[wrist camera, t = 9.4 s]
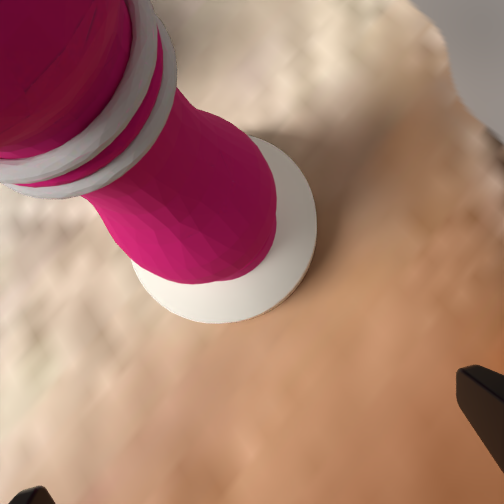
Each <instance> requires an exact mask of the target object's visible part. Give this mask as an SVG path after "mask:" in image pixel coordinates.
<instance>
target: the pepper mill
mask: <svg viewBox="0 0 504 504" xmlns="http://www.w3.org/2000/svg"><path fill="white" fill-rule="evenodd" d="M176 84H177V64H176V56H175V50H174V47H173V45H172V42H171V39H170V36H169V34H168V32H167V30H166V28H165V26H164V24H163V23H162V22H161V20H160V19H159V18H158V17H157V15H156V14H155V13H154V9H153V6H152V3H151V1H150V0H0V183H2V184H3V185H5V186H7V187H9V188H10V189H12V190H14V191H16V192H18V193H20V194H23V195H26V196H30V197H34V198H42V199H67V198H71V197H76V196H82V197H84V198H85V199H87V200H88V201H89V202H90V203H91V204H92V205H93V206H94V207H95V209H96V210H97V212H98V213H99V215H100V216H101V218H102V220H103V222H104V224H105V225H106V227H107V229H108V231H109V233H110V234H111V236H112V237H113V239H114V241H115V242H116V243H117V244H118V245H119V247H120V248H121V249H122V250H123V251H124V252H125V253H126V254H127V255H128V256H129V257H130V258H131V259H132V260H133V261H134V262H135V263H136V264H138V265H139V266H140V267H142V268H143V269H145V270H147V271H149V272H151V273H153V274H155V275H157V276H159V277H161V278H164V279H166V280H168V281H172V282H176V283H180V284H192V285H194V284H205V283H211V282H215V281H228V280H233V279H236V278H239V277H241V276H244V275H246V274H247V273H249V272H250V271H252V270H253V269H254V268H256V267H257V266H258V265H259V264H260V263H261V262H262V261H263V260H264V258H265V257H266V255H267V254H268V252H269V250H270V248H271V247H272V244H273V241H274V238H275V234H276V226H277V221H276V208H277V194H276V185H275V181H274V178H273V174H272V172H271V170H270V167H269V165H268V163H267V161H266V160H265V158H264V156H263V155H262V153H261V151H260V150H259V148H258V146H257V145H256V144H255V143H254V142H253V141H252V140H251V139H250V138H249V137H248V136H247V135H246V134H245V133H244V132H242V131H241V130H240V129H238V128H237V127H236V126H234V125H233V124H232V123H230V122H228V121H226V120H224V119H222V118H221V117H218V116H216V115H213V114H211V113H208V112H205V111H202V110H198V109H196V108H195V107H194V106H192V105H191V104H190V103H189V101H188V100H187V99H186V98H185V97H184V95H183V94H182V93H181V92H180V90H179V89H178V88H177V87H176Z"/></svg>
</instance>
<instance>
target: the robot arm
mask: <svg viewBox="0 0 504 504" xmlns="http://www.w3.org/2000/svg"><path fill="white" fill-rule="evenodd" d="M456 398H457V402H458V405H459V407H460V409H461V410H462V412H463V413H464V415H465V416H466V418H467V419H468V421H469V422H470V424H471V425H472V427H473V428H474V430H475V431H476V433H477V434H478V436H479V437H480V439H481V440H482V442H483V443H484V445H485V446H486V448H487V449H488V451H489V452H490V454H491V455H492V457H493V458H494V460H495V461H496V463H497V464H498V466H499V467H500V469H501V470H502V471H503V473H504V375H502V374H499V373H497V372H495V371H492V370H490V369H487V368H485V367H482V366H480V365H470V366H467V367H463V368H460V369H458V371H457V372H456ZM9 504H55V502H54V500H53V499H52V497H51V496H50V494H49V493H48V491H47V489H46V488H45V487H43V486H36V487H33V488H29V489H25V490H23V491H21V492H19V493H18V494H17V495H16V496H15V497H14V498H13V499H12V500H11V501H10V502H9Z"/></svg>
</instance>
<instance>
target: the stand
mask: <svg viewBox="0 0 504 504" xmlns="http://www.w3.org/2000/svg"><path fill="white" fill-rule="evenodd" d="M247 136H248V137H249V138H250V139H251V140H252V141H253V142H254V143H255V144H256V145H257V146H258V148H259V150H260V151H261V153H262V155H263V156H264V158H265V160H266V161H267V163H268V165H269V167H270V170H271V172H272V174H273V178H274V181H275V185H276V194H277V208H276V221H277V226H276V234H275V238H274V241H273V244H272V247H271V248H270V250H269V252H268V254H267V255H266V257H265V258H264V260H263V261H262V262H261V263H260V264H259V265H258V266H257V267H256V268H254V269H253V270H252V271H250V272H249V273H247V274H246V275H244V276H241V277H239V278H236V279H233V280H228V281H215V282H211V283H205V284H194V285H192V284H180V283H176V282H172V281H168V280H166V279H164V278H161V277H159V276H157V275H155V274H153V273H151V272H149V271H147V270H145V269H143V268H142V267H140V266H139V265H138V264H136V263H135V262H134V261H133V260H132V259H131V261H132V265H133V268H134V270H135V272H136V274H137V276H138V278H139V280H140V282H141V283H142V285H143V286H144V288H145V289H146V290H147V292H148V293H149V294H150V295H151V296H152V297H153V298H154V299H155V300H156V301H157V302H158V303H159V304H160V305H162V306H163V307H165V308H166V309H168V310H169V311H171V312H172V313H174V314H177V315H179V316H181V317H183V318H186V319H189V320H193V321H196V322H203V323H217V324H221V323H232V322H240V321H245V320H249V319H253V318H255V317H258V316H260V315H263V314H265V313H267V312H268V311H270V310H272V309H274V308H275V307H277V306H278V305H279V304H281V303H282V302H283V301H285V300H286V299H287V298H288V297H289V296H290V295H291V294H292V293H293V292H294V291H295V289H296V288H297V287H298V285H299V284H300V283H301V281H302V280H303V278H304V276H305V274H306V273H307V271H308V269H309V266H310V264H311V261H312V259H313V255H314V251H315V247H316V239H317V218H316V209H315V202H314V198H313V195H312V192H311V189H310V187H309V184H308V182H307V180H306V178H305V176H304V175H303V173H302V172H301V170H300V169H299V167H298V166H297V165H296V164H295V163H294V161H293V160H292V159H291V158H290V157H289V156H287V155H286V154H285V153H284V152H283V151H282V150H280V149H279V148H277V147H276V146H274V145H272V144H271V143H269V142H266V141H264V140H262V139H259V138H256V137H253V136H250V135H247Z"/></svg>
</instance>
